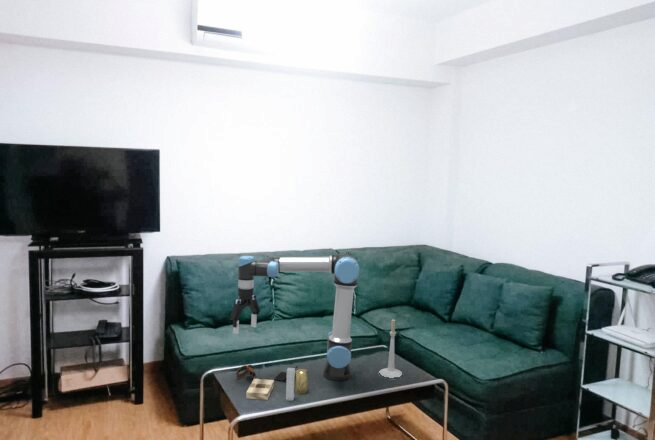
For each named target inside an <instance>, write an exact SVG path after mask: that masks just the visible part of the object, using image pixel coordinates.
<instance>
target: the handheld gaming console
mask: <svg viewBox="0 0 655 440" xmlns="http://www.w3.org/2000/svg"><path fill="white" fill-rule="evenodd" d="M294 368H295V370H297V368H298V365H297V366H296V367H294ZM273 380H274V382H280V383H286V380H287V371H281V372H279V373H278V374H277V375H276V376H275V377H273Z"/></svg>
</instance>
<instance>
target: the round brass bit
mask: <svg viewBox="0 0 655 440" xmlns="http://www.w3.org/2000/svg"><path fill="white" fill-rule="evenodd" d="M308 372H309V371H308V370H307V369H305V368H298V369H295V393H296V394H298V395H302V394H303V395H304V394H306V393H307V392H308V374H309V373H308Z"/></svg>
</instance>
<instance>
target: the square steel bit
mask: <svg viewBox="0 0 655 440" xmlns="http://www.w3.org/2000/svg"><path fill="white" fill-rule="evenodd" d="M295 368H296V367H294V368H293V367H287V369H286V372H287V380H286V381H285V383H286V387H285V400H286V401H292V402H293V401H294V399H295V392H296V369H295Z"/></svg>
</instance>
